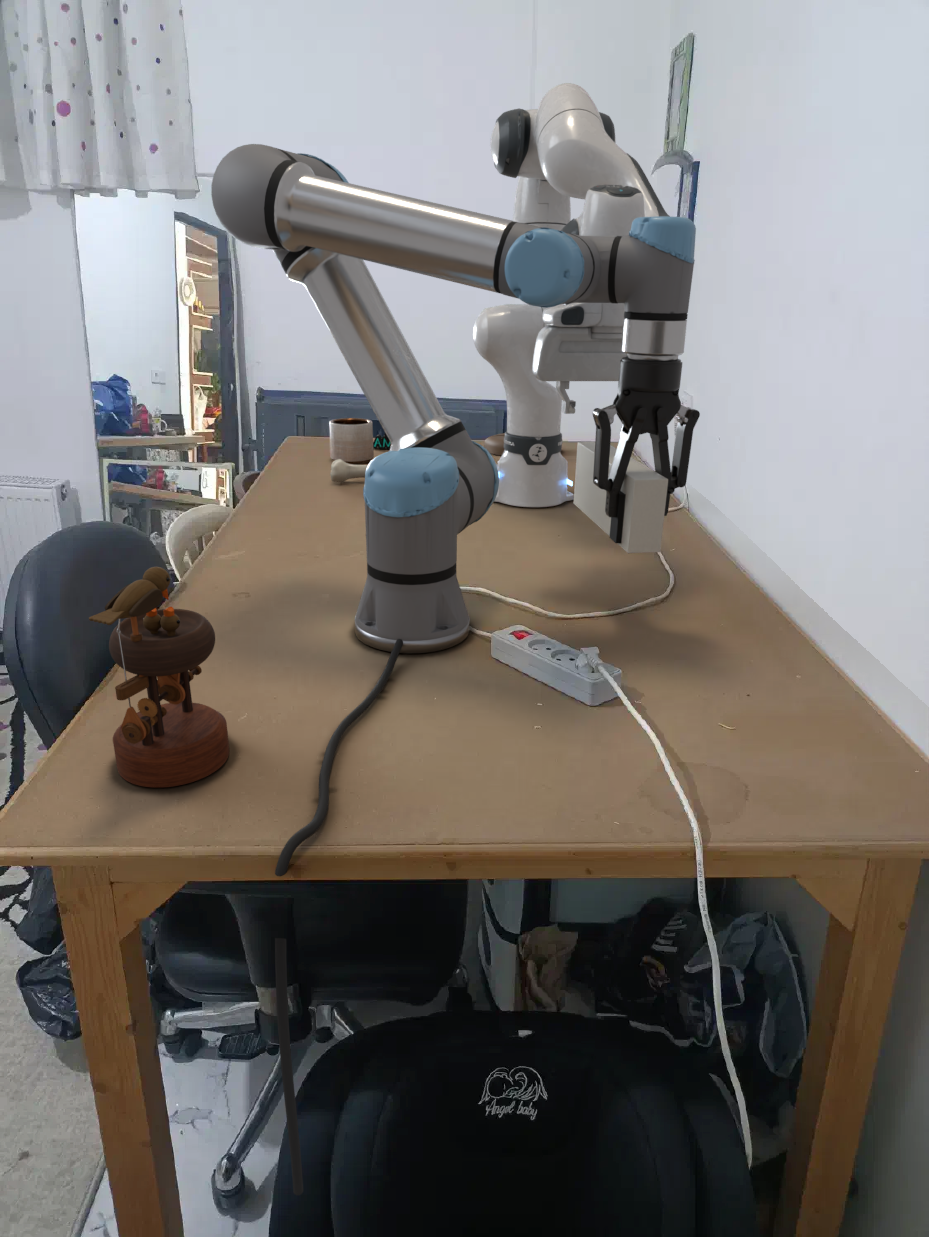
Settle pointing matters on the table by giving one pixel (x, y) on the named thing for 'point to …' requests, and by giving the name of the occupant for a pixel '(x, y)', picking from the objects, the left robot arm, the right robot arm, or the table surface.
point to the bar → (640, 502)
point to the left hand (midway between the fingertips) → (633, 539)
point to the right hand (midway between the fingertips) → (599, 413)
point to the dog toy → (346, 471)
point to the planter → (351, 440)
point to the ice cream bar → (495, 444)
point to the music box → (162, 687)
